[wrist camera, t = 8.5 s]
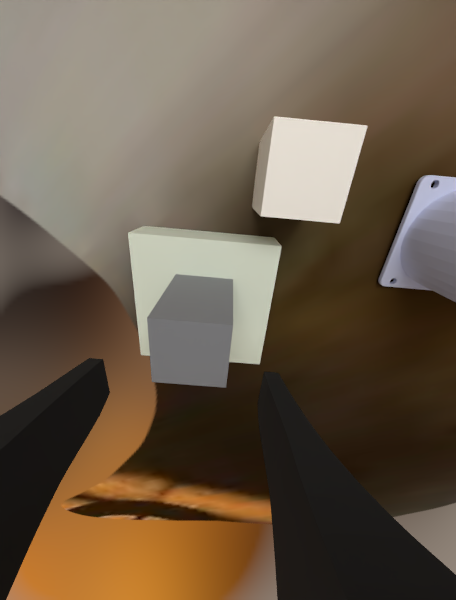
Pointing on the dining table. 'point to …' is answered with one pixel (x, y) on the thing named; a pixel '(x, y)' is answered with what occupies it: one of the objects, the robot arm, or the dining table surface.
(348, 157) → the off-white pillar
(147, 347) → the sage board
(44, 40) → the dining table surface
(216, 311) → the grey rectangular prism
